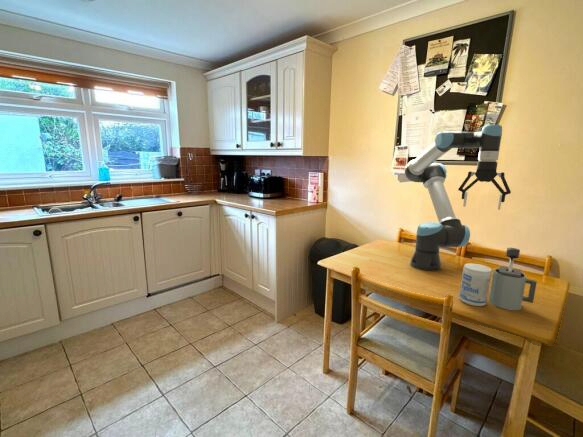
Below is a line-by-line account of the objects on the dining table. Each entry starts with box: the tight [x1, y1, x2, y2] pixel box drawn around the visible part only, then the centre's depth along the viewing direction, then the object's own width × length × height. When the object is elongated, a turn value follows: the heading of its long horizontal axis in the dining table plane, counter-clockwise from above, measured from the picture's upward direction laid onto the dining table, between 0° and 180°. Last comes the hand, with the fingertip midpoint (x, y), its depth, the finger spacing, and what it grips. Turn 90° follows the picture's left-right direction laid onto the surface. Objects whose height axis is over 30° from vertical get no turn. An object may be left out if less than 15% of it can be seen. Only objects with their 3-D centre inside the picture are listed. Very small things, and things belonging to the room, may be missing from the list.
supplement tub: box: [458, 262, 493, 307], centre depth 119 cm, size 10×10×15 cm
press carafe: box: [488, 265, 538, 311], centre depth 116 cm, size 14×10×14 cm
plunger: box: [505, 247, 521, 277], centre depth 116 cm, size 8×8×20 cm
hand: (481, 207), depth 137 cm, fingers open, 13 cm apart
